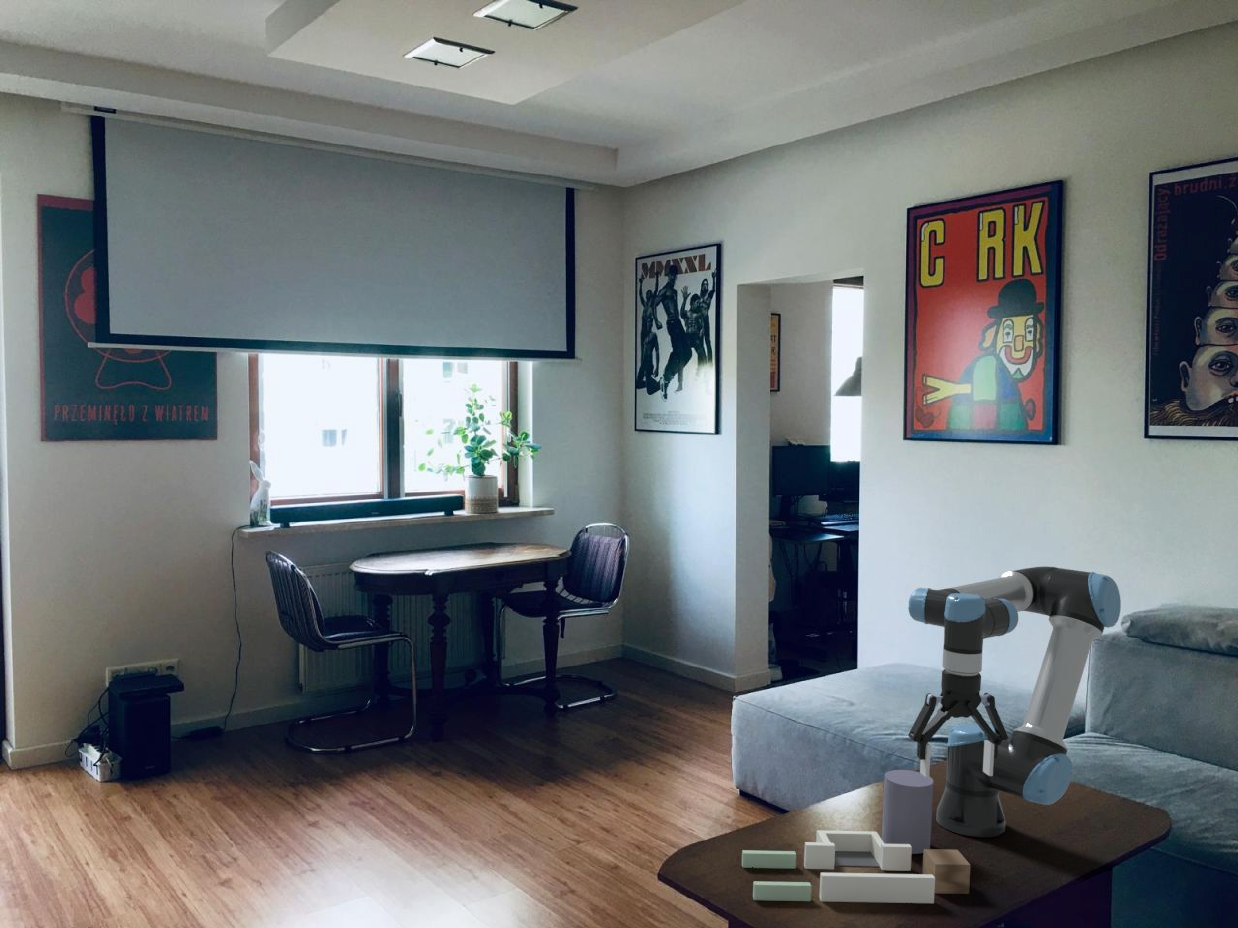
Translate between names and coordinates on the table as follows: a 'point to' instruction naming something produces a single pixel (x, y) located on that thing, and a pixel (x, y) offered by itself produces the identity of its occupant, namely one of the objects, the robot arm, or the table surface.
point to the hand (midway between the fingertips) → (956, 774)
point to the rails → (776, 889)
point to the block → (947, 870)
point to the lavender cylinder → (907, 809)
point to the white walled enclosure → (866, 853)
